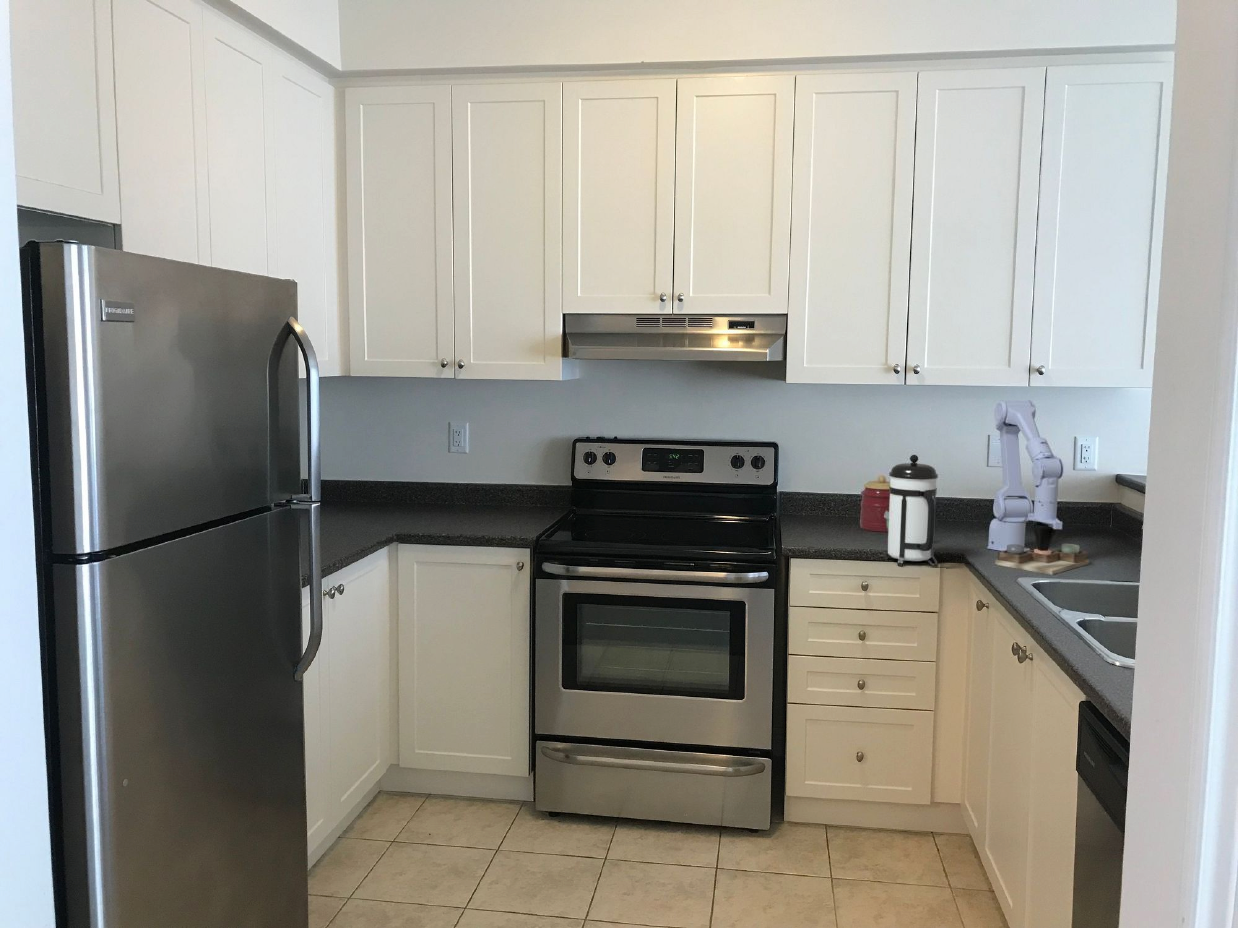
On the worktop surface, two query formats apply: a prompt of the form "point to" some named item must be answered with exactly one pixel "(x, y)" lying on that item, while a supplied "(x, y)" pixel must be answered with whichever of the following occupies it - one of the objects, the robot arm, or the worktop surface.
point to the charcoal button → (1015, 549)
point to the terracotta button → (1042, 552)
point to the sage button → (1070, 548)
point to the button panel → (1043, 561)
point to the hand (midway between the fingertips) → (1042, 550)
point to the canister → (875, 505)
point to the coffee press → (912, 512)
